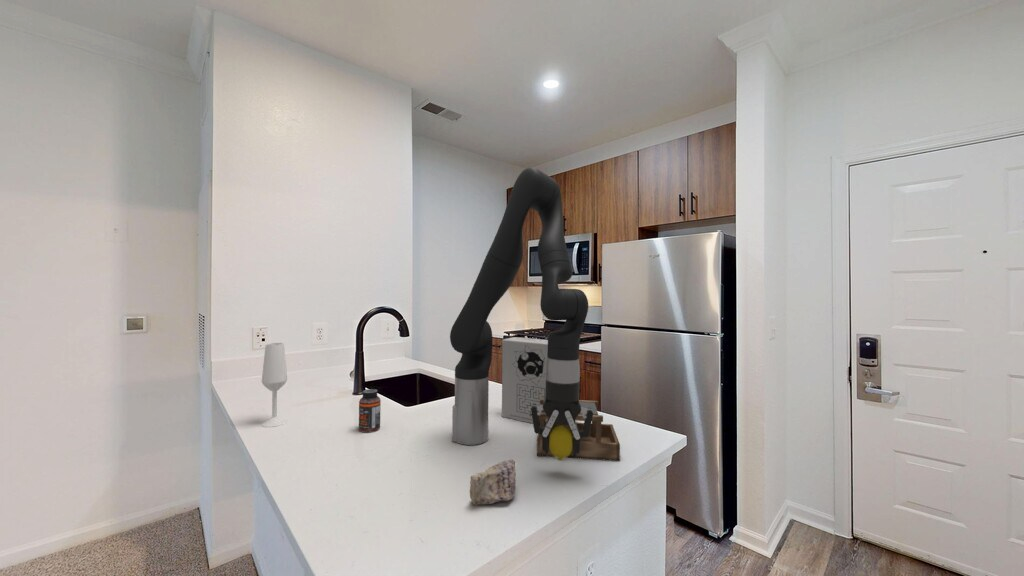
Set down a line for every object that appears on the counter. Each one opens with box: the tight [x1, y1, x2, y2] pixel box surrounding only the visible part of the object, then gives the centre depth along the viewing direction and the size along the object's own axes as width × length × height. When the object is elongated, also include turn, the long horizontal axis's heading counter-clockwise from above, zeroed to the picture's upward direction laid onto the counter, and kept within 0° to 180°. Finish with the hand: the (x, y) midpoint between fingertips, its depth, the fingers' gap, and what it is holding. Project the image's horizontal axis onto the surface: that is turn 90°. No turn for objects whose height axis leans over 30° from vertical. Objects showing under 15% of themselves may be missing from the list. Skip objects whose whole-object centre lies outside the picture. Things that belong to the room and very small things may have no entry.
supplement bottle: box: [358, 388, 382, 433], centre depth 115 cm, size 6×6×11 cm
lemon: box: [548, 424, 573, 461], centre depth 88 cm, size 6×6×8 cm
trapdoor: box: [542, 400, 599, 415], centre depth 104 cm, size 14×10×2 cm
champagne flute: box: [261, 342, 288, 428], centre depth 120 cm, size 7×7×24 cm
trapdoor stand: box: [536, 399, 621, 462], centre depth 103 cm, size 20×14×10 cm
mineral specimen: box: [469, 459, 517, 506], centre depth 79 cm, size 13×7×6 cm, turn 146°
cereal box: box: [501, 336, 548, 424], centre depth 124 cm, size 22×8×25 cm, turn 58°
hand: (560, 453), depth 88 cm, fingers closed on lemon, 5 cm apart
